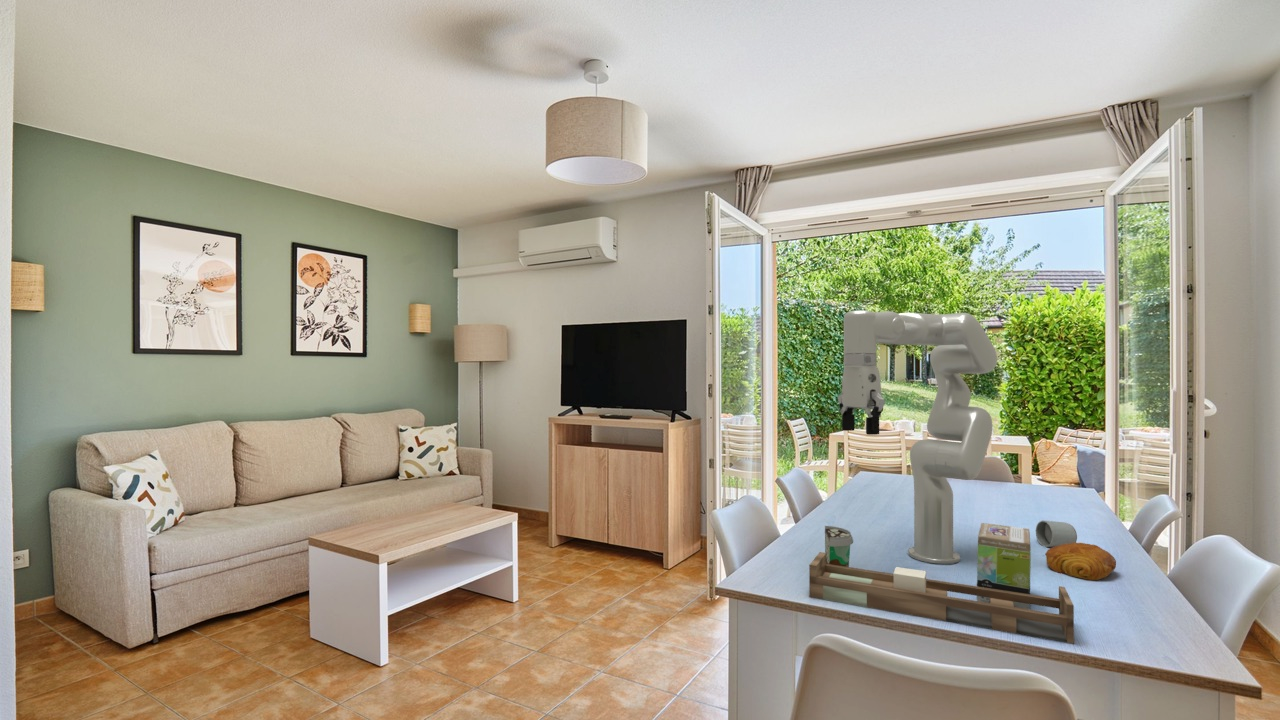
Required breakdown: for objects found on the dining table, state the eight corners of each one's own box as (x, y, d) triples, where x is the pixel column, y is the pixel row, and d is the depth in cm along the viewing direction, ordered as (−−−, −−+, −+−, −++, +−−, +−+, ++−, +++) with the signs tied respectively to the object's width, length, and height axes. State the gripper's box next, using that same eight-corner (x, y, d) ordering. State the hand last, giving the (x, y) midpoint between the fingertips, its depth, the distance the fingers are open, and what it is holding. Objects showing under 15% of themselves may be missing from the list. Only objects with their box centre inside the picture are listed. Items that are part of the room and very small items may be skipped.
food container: (856, 581, 144) (856, 539, 144) (829, 579, 145) (829, 537, 145) (849, 565, 156) (849, 526, 156) (824, 563, 157) (824, 525, 157)
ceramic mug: (1079, 550, 171) (1079, 523, 171) (1052, 550, 170) (1052, 523, 171) (1053, 540, 181) (1053, 515, 181) (1028, 540, 181) (1027, 515, 181)
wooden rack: (819, 581, 143) (819, 552, 144) (1065, 622, 121) (1064, 587, 121) (809, 596, 134) (809, 565, 134) (1073, 643, 111) (1073, 605, 111)
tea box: (1031, 614, 125) (1031, 542, 125) (976, 604, 130) (975, 535, 130) (1030, 592, 138) (1029, 526, 138) (979, 583, 143) (979, 520, 143)
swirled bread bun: (1123, 581, 152) (1125, 549, 152) (1104, 586, 142) (1106, 551, 143) (1056, 565, 163) (1058, 535, 164) (1034, 568, 153) (1037, 536, 154)
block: (895, 585, 133) (895, 566, 133) (926, 589, 130) (925, 571, 130) (893, 592, 128) (893, 573, 128) (924, 597, 126) (924, 578, 126)
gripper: (896, 361, 139) (897, 435, 139) (852, 362, 156) (852, 428, 156) (868, 361, 137) (868, 436, 137) (826, 362, 154) (826, 429, 154)
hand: (860, 432), depth 146 cm, fingers open, 9 cm apart
